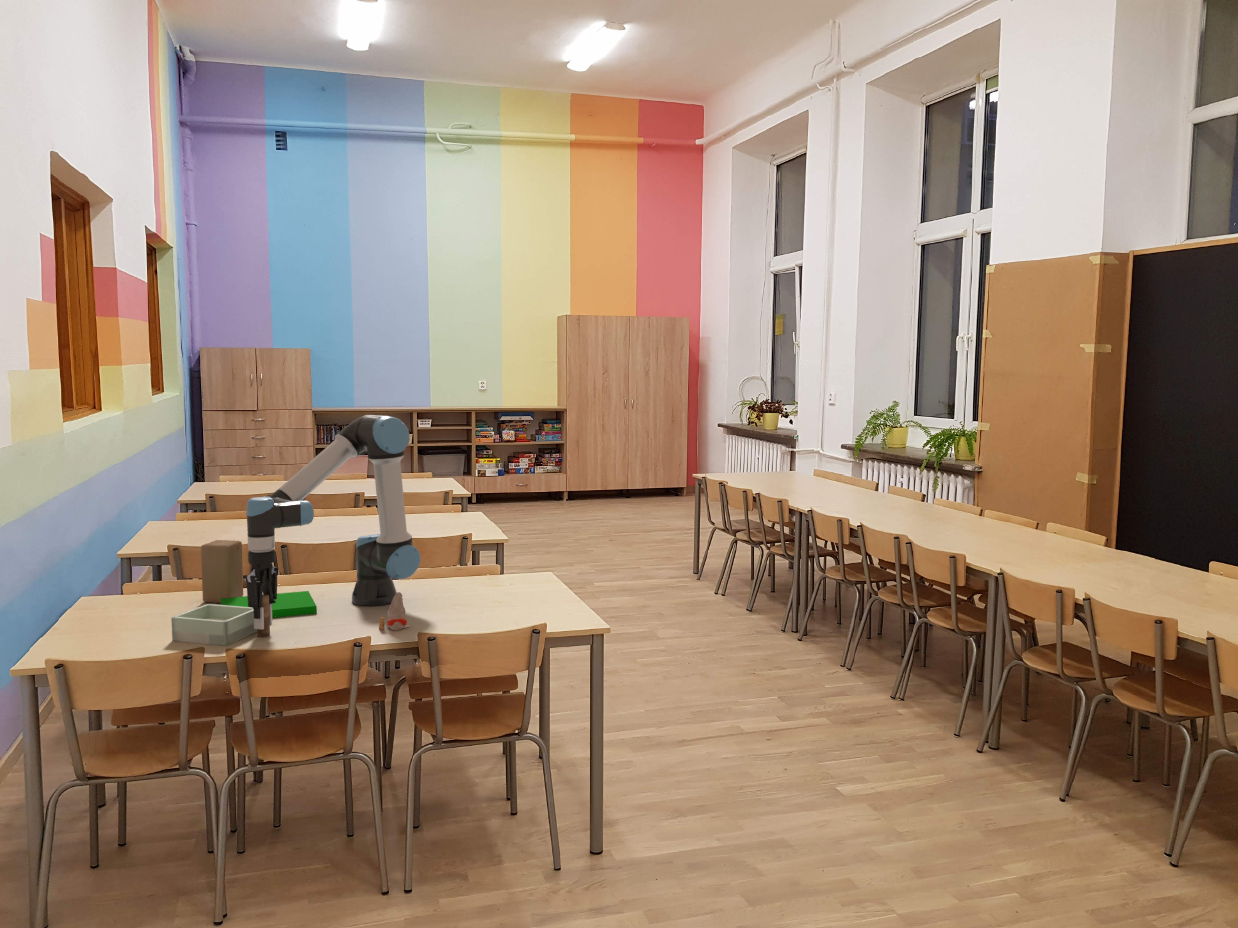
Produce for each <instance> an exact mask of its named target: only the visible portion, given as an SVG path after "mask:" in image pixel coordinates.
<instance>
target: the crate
mask: <svg viewBox="0 0 1238 928" xmlns="http://www.w3.org/2000/svg"><path fill="white" fill-rule="evenodd" d="M170 620H171V640H172V642H178V643H179V642H181V643H193V644H204V645H212V646H213V645H214V646H223V647H226V646H230V645H231V644H234V643H236V642H238V641H240V640H242V639H244V638H248V637H249V636H251V635H253V634H257V629H254V609H253V608H251V607H240V606H227V605H221V604H216V603H213V604H212V603H207V604H203V605H201V606H198V607H195V608H193V609H190V610H188V611H187V610H186V612H183V613H180V614H177V615H174V616H171V618H170Z"/></svg>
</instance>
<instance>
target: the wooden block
mask: <svg viewBox="0 0 1238 928" xmlns="http://www.w3.org/2000/svg"><path fill="white" fill-rule="evenodd" d="M200 555H201V556H200V558H201V559H200V560H201V582H202V583H201V586H202V587H201V589H202V590H201V591H202V601H203V602H204V603H208V604H212V603H213V604H221V600H220V599H221V598H232V597H244V574H243V568H244V567H243V543H242V541H240V540H229V539H227V540H225V539H224V540H222V539H216V540H214V541H210V542H207V543H204V544H202V545H201V546H200Z"/></svg>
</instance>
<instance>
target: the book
mask: <svg viewBox="0 0 1238 928" xmlns="http://www.w3.org/2000/svg"><path fill="white" fill-rule="evenodd" d="M220 600H221V603H220V605H227V606H240V607H248V597H247V596H246V595H245V596H244V595H243V597H232V598H221V599H220ZM274 601H276V602H275V603H272V619H274V618H284V617H286V618H287V617H295V616H296V617H298V616H306V615H307V616H308V615H316V614H318V612H317V611H318V608H317V604H316V603H315V600H314V598H313V597H312V595H311V593H310V591H309V590H303V591H301V590H300V591H293V592H283V593H282V592H281V593H279V592H277V599H276V600H274Z"/></svg>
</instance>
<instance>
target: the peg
mask: <svg viewBox="0 0 1238 928" xmlns="http://www.w3.org/2000/svg"><path fill="white" fill-rule="evenodd" d="M261 607H263V608H264V629H263V630H262V629H257V632H256V637H258V638H266V637H269V636H271V628H270V627H271V626H270V615H269V595H263V594H262V606H261Z"/></svg>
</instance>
